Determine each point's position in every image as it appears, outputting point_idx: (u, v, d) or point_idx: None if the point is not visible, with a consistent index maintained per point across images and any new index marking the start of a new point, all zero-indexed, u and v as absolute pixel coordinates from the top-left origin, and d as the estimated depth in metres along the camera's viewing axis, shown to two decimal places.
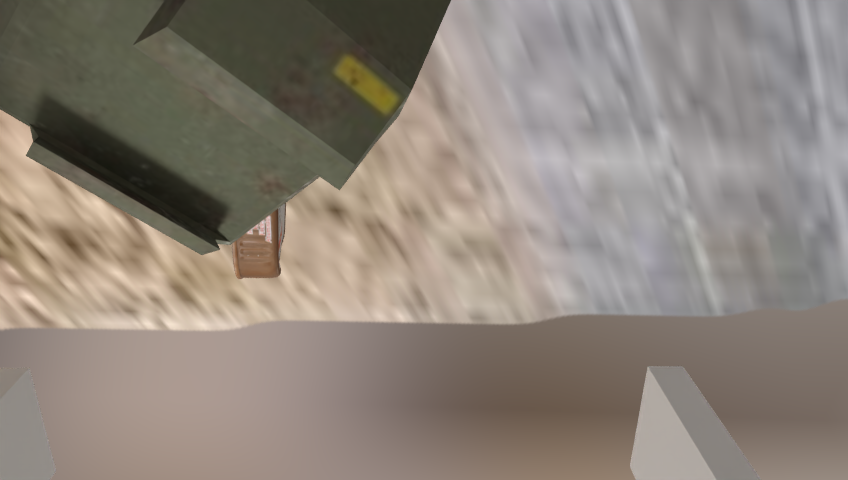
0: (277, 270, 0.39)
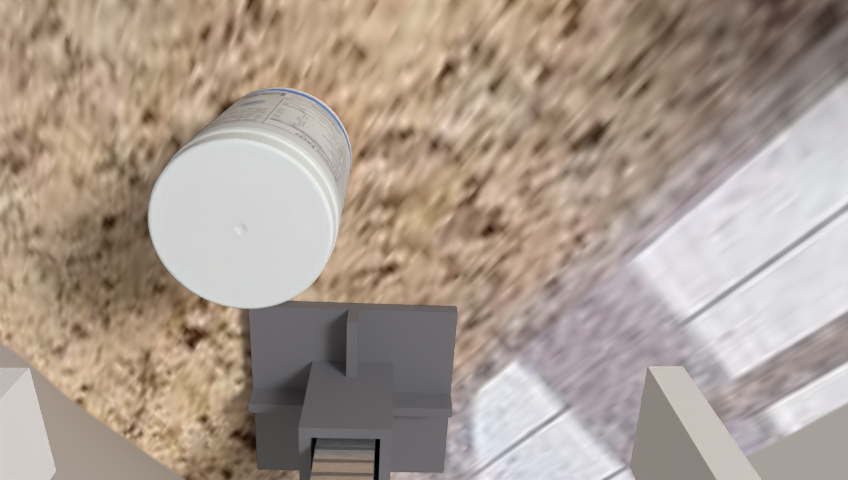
0: None
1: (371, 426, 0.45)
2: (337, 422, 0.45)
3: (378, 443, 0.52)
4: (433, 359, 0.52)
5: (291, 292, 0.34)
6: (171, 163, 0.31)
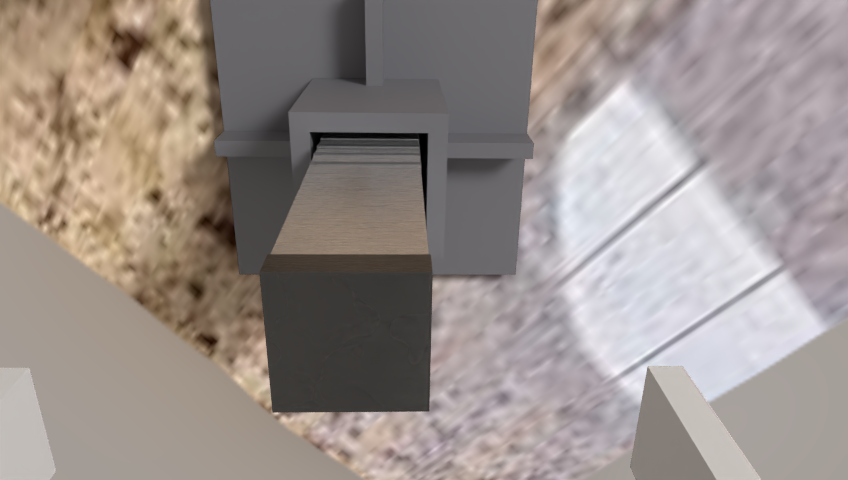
0: None
1: (412, 111, 0.26)
2: (354, 109, 0.27)
3: None
4: (501, 70, 0.33)
5: None
6: None
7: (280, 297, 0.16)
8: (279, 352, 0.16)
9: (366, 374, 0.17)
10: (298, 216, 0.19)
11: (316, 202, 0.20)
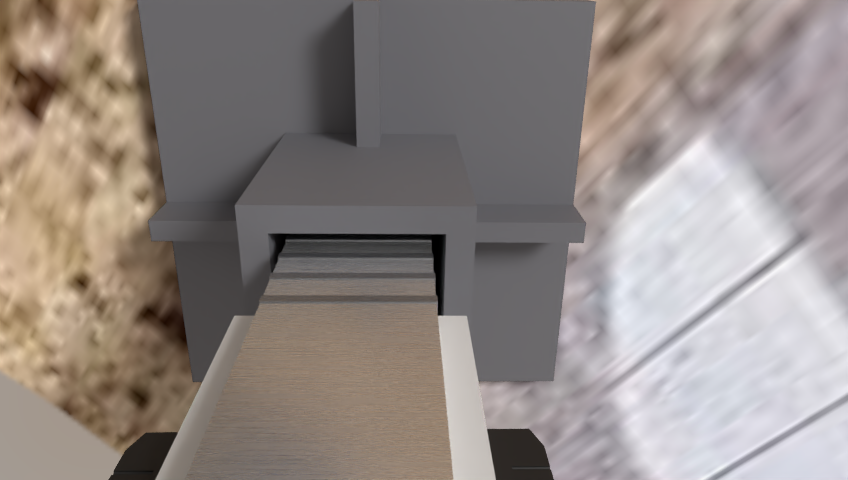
0: None
1: (422, 202, 0.18)
2: (335, 197, 0.18)
3: None
4: (540, 123, 0.25)
5: None
6: None
7: None
8: None
9: None
10: (213, 462, 0.10)
11: (254, 413, 0.11)
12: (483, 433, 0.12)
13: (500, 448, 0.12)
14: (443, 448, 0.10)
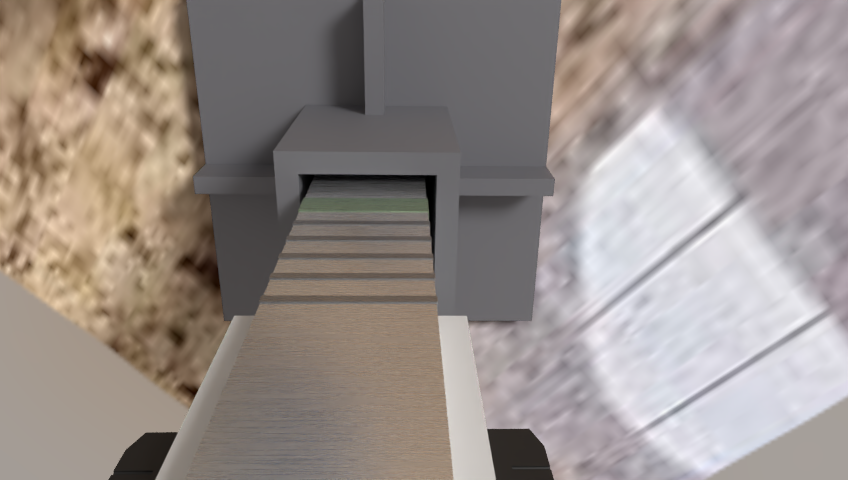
0: None
1: (418, 150, 0.23)
2: (350, 147, 0.23)
3: None
4: (517, 96, 0.30)
5: None
6: None
7: None
8: None
9: None
10: (213, 462, 0.10)
11: (255, 413, 0.11)
12: (483, 433, 0.12)
13: (500, 448, 0.12)
14: (443, 448, 0.10)
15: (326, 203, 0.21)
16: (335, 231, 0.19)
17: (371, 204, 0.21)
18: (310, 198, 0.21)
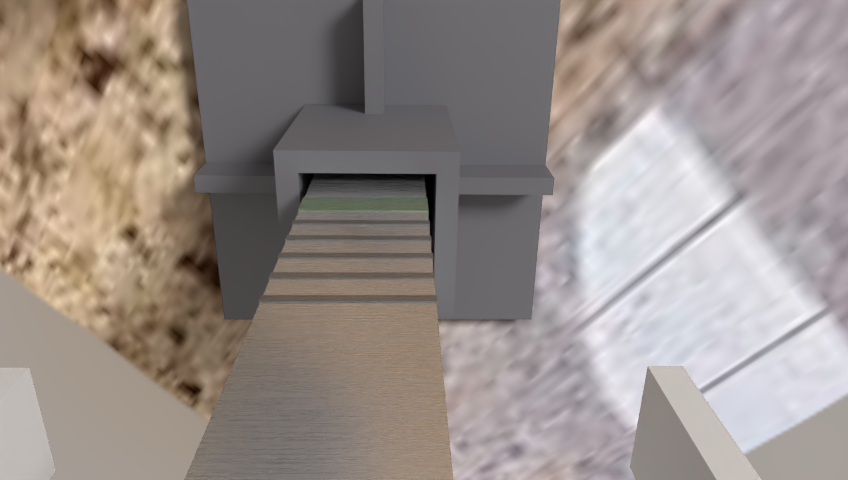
0: None
1: (418, 149, 0.23)
2: (350, 146, 0.23)
3: None
4: (516, 96, 0.30)
5: None
6: None
7: None
8: None
9: None
10: (213, 461, 0.10)
11: (254, 412, 0.11)
12: None
13: None
14: (443, 447, 0.10)
15: (325, 202, 0.21)
16: (335, 230, 0.19)
17: (371, 204, 0.21)
18: (310, 197, 0.21)
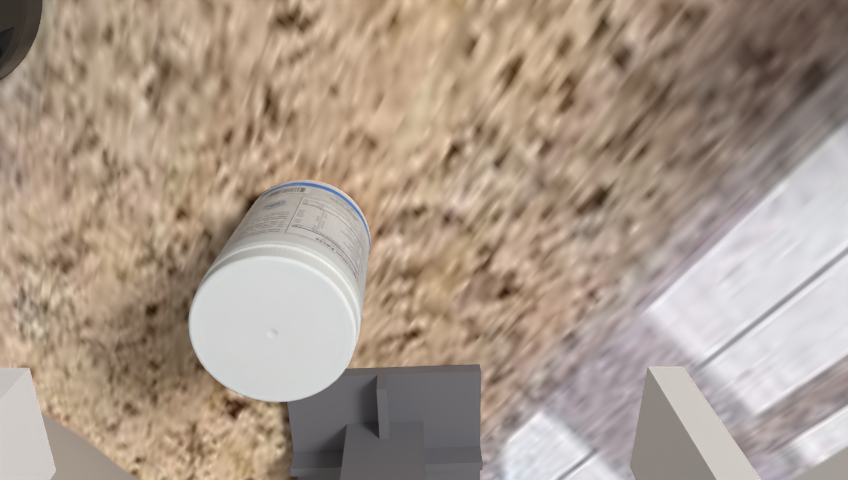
0: None
1: None
2: None
3: None
4: (461, 415, 0.55)
5: (321, 384, 0.37)
6: (206, 281, 0.34)
7: None
8: None
9: None
10: None
11: None
12: None
13: None
14: None
15: None
16: None
17: None
18: None
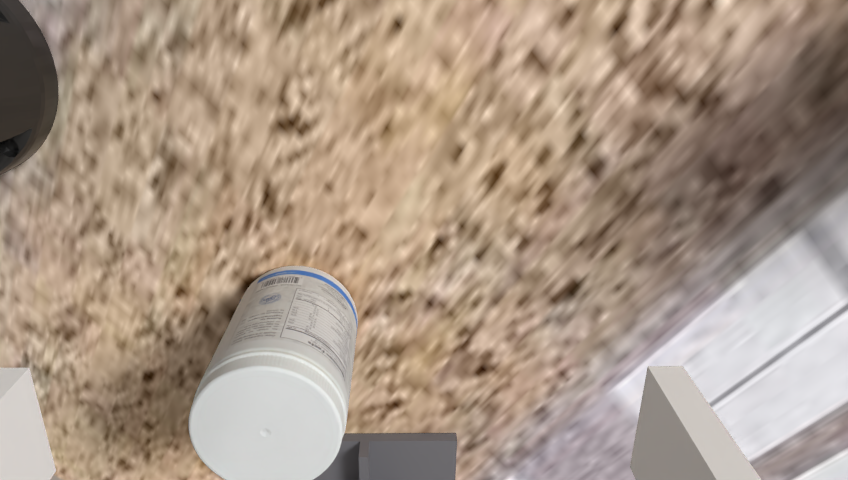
0: None
1: None
2: None
3: None
4: (437, 479, 0.58)
5: (308, 477, 0.40)
6: (207, 386, 0.38)
7: None
8: None
9: None
10: None
11: None
12: None
13: None
14: None
15: None
16: None
17: None
18: None
